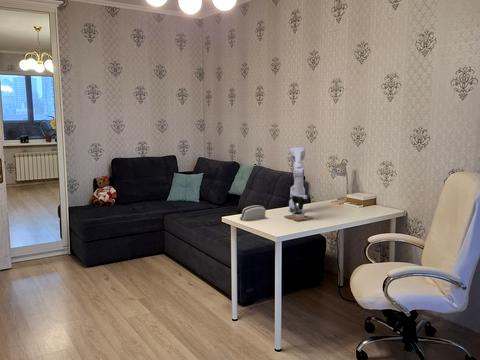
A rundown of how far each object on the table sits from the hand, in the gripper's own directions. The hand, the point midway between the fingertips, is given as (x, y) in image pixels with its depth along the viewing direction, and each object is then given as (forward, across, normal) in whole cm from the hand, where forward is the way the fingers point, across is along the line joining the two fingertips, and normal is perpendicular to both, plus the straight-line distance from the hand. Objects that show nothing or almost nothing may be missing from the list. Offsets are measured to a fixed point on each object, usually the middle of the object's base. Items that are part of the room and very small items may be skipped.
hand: (298, 208), depth 270 cm
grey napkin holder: (+7, -15, -25) cm, 30 cm away
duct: (+6, 0, 0) cm, 6 cm away
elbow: (+5, 0, -2) cm, 5 cm away
